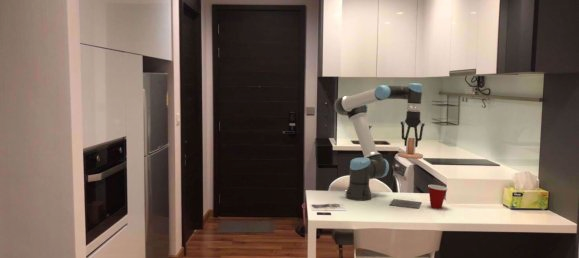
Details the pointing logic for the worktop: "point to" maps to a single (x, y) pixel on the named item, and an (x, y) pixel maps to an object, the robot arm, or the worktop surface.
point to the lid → (410, 151)
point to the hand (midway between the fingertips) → (410, 152)
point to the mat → (405, 203)
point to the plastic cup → (437, 195)
